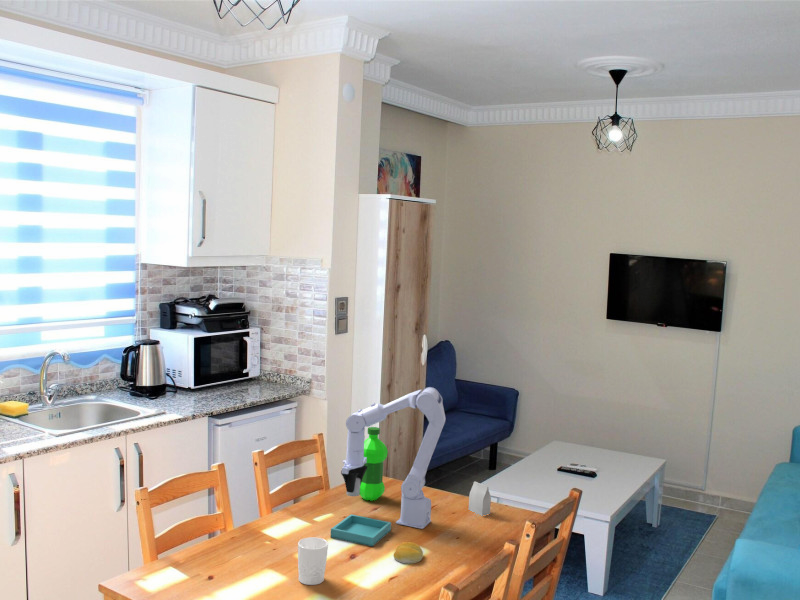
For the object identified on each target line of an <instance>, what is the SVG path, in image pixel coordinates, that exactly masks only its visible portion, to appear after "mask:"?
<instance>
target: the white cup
mask: <svg viewBox="0 0 800 600" xmlns="http://www.w3.org/2000/svg"><path fill="white" fill-rule="evenodd" d="M328 547H329V542H328V541H327V540H326V539H324V538H323V537H322V538H321V537H311V536H310V537H304V538H301V539H300V540H299V541H298V542H297V568H298V569H297V570H298V581H299V582H300V583H301V584H304V585H306V586H307V585H309V586H315V585H319V584H321V583H322V582H324V581H325V572H326V566H327V559H328V558H327V556H328V550H329V549H328Z"/></svg>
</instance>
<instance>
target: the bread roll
mask: <svg viewBox="0 0 800 600" xmlns="http://www.w3.org/2000/svg"><path fill="white" fill-rule="evenodd" d="M392 556H393V558H394V560H396V561H397V562H400V563H402V564H408V565H409V564H416V563H419V562H421V560H422V559H423V557H424V551H423V549H422V548H421V546H420V545H418V544H417V543H415V542H412V541H403V542H402V543H400V544H399V545H397V546H396V548H395V551H394V552H393V555H392Z"/></svg>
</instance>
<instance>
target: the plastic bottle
mask: <svg viewBox="0 0 800 600" xmlns="http://www.w3.org/2000/svg"><path fill="white" fill-rule="evenodd" d="M380 433H381V428H380V427H377V426H369V427H367V434H368V438H366V439H364V457H367V461H366V463H365V464H364V466H367V470H366V471H365V473H364V476H363V479H362V482H361V486H360V495H359V496H360V497H361V498H362V499H363V500H365V501H368V500H370V501H369V502H371V501H372V502H373V500H374V501H377V500H378V499H379V498H380V497H382V495H383V494H385V489H386V487H385V483H384V482H383V477H384V476H383V475H384V462H385V460H386V459H387V457H388V451H389V450H388V447H387V446H386V445H385V443H384V442H383V441H382V440H380V439H379V435H380Z"/></svg>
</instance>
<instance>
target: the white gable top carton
mask: <svg viewBox="0 0 800 600" xmlns="http://www.w3.org/2000/svg"><path fill="white" fill-rule="evenodd" d="M491 503H492V498H491V493H490V490H489V486H487V485H484V484H482V483H479V482H478V481H473V484H472V486H471V489H470V491H469V496H468V510H470V511H472V512H475V513H476V514H475V513H474V514H475V515H477V514H479V515H481V516H483V515H487V514H490V515H491V506H492V505H491ZM470 511H469V512H470ZM472 512H471V513H472ZM479 515H478V516H479ZM481 516H480V517H481Z"/></svg>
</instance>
